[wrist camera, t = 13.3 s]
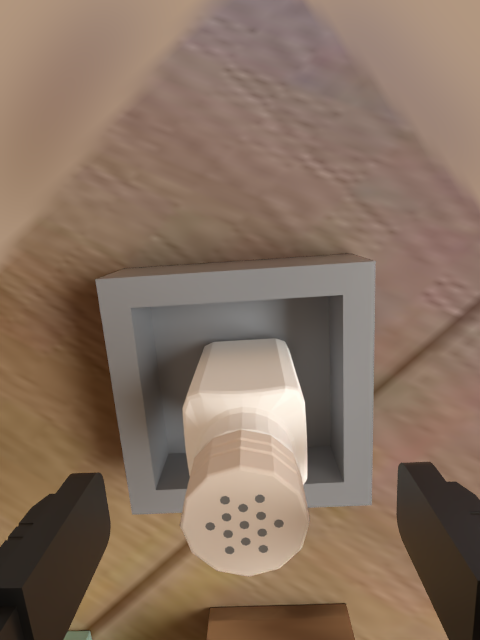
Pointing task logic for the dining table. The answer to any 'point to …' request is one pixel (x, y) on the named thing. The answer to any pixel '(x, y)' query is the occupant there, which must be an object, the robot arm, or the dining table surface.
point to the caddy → (231, 325)
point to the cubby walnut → (280, 623)
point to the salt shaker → (245, 457)
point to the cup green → (78, 635)
